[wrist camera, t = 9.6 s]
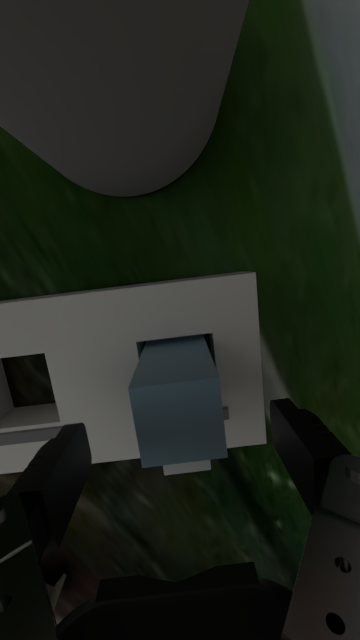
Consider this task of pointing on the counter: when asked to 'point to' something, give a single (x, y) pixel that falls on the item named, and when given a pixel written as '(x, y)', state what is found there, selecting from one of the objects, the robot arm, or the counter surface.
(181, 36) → the cylinder vase
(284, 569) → the counter surface
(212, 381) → the plug
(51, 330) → the port panel
